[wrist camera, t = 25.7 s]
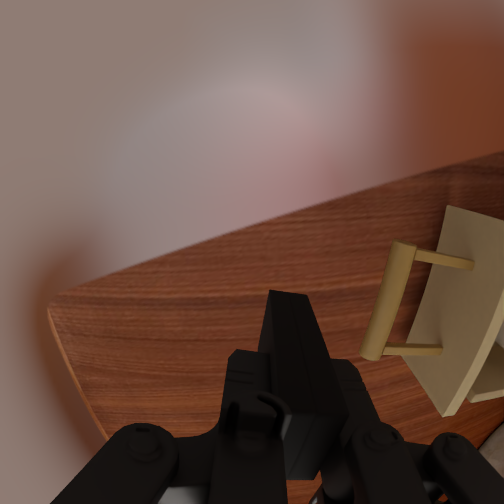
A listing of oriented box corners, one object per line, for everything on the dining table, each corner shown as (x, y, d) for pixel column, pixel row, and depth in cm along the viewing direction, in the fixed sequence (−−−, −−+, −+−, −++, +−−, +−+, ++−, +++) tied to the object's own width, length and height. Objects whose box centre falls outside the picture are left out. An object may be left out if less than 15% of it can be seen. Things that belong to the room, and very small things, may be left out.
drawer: (331, 351, 22) (359, 425, 14) (374, 184, 18) (440, 196, 11) (516, 351, 22) (555, 387, 15) (553, 244, 19) (603, 266, 12)
